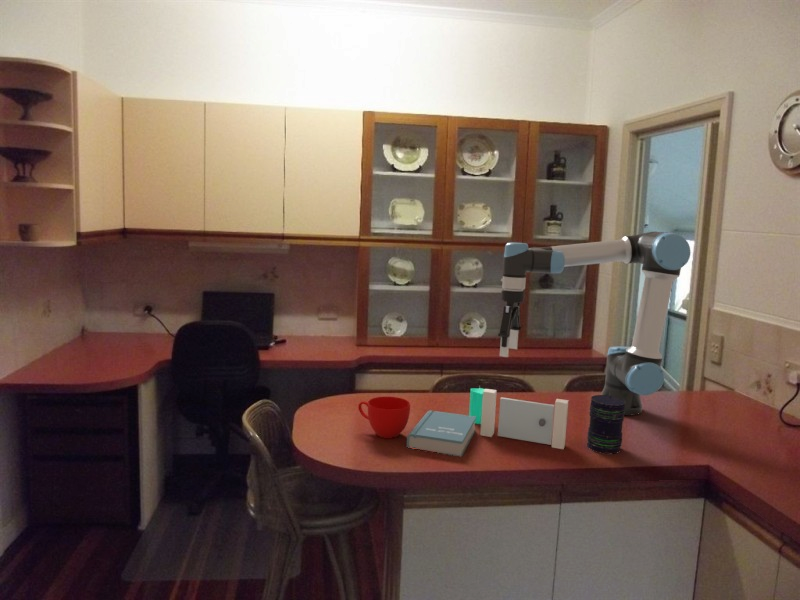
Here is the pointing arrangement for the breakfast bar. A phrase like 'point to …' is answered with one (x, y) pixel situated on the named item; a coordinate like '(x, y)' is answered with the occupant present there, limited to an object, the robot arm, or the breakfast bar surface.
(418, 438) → the book
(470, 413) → the candle
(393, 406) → the ceramic cup
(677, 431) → the breakfast bar surface
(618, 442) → the storage jar
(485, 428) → the door frame
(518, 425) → the door
